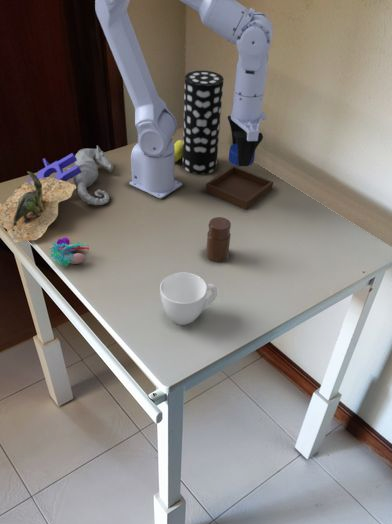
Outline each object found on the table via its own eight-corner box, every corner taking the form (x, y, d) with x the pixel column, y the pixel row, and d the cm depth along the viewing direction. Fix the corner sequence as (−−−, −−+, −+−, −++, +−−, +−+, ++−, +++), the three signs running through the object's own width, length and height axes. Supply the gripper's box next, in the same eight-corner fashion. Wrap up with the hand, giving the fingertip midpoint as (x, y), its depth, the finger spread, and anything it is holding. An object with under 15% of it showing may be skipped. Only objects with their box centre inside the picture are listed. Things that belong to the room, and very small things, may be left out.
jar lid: (256, 166, 104) (257, 154, 102) (231, 167, 103) (232, 155, 101) (250, 154, 107) (252, 142, 105) (226, 154, 107) (227, 142, 105)
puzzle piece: (85, 181, 106) (81, 176, 104) (37, 208, 107) (33, 204, 106) (72, 148, 109) (68, 143, 108) (26, 175, 111) (22, 170, 109)
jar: (201, 256, 97) (203, 224, 92) (213, 245, 100) (215, 213, 94) (221, 265, 96) (224, 232, 90) (232, 253, 98) (236, 221, 93)
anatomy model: (90, 225, 95) (53, 222, 94) (86, 252, 89) (47, 248, 88) (90, 247, 98) (55, 244, 97) (86, 273, 93) (49, 270, 92)
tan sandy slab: (-37, 208, 98) (-12, 236, 104) (5, 220, 90) (29, 250, 96) (23, 151, 104) (43, 181, 110) (67, 157, 97) (86, 189, 102)
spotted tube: (200, 153, 125) (205, 67, 110) (223, 167, 121) (231, 79, 106) (175, 163, 121) (176, 76, 106) (198, 177, 117) (203, 88, 102)
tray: (205, 191, 113) (205, 184, 112) (232, 172, 119) (233, 165, 118) (246, 209, 109) (247, 202, 108) (272, 189, 115) (273, 181, 114)
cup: (154, 307, 87) (153, 277, 82) (206, 294, 90) (208, 265, 85) (169, 337, 83) (169, 308, 77) (223, 323, 85) (227, 294, 80)
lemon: (172, 143, 125) (181, 156, 127) (162, 155, 119) (172, 168, 121) (184, 133, 122) (193, 147, 124) (174, 146, 117) (184, 159, 119)
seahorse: (130, 196, 107) (107, 140, 117) (77, 193, 102) (58, 135, 112) (124, 214, 111) (103, 159, 121) (73, 212, 106) (55, 155, 116)
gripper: (278, 107, 90) (267, 175, 101) (261, 76, 100) (252, 142, 110) (240, 107, 90) (233, 176, 100) (226, 76, 99) (221, 142, 109)
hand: (241, 158), depth 105 cm, fingers closed on jar lid, 5 cm apart
